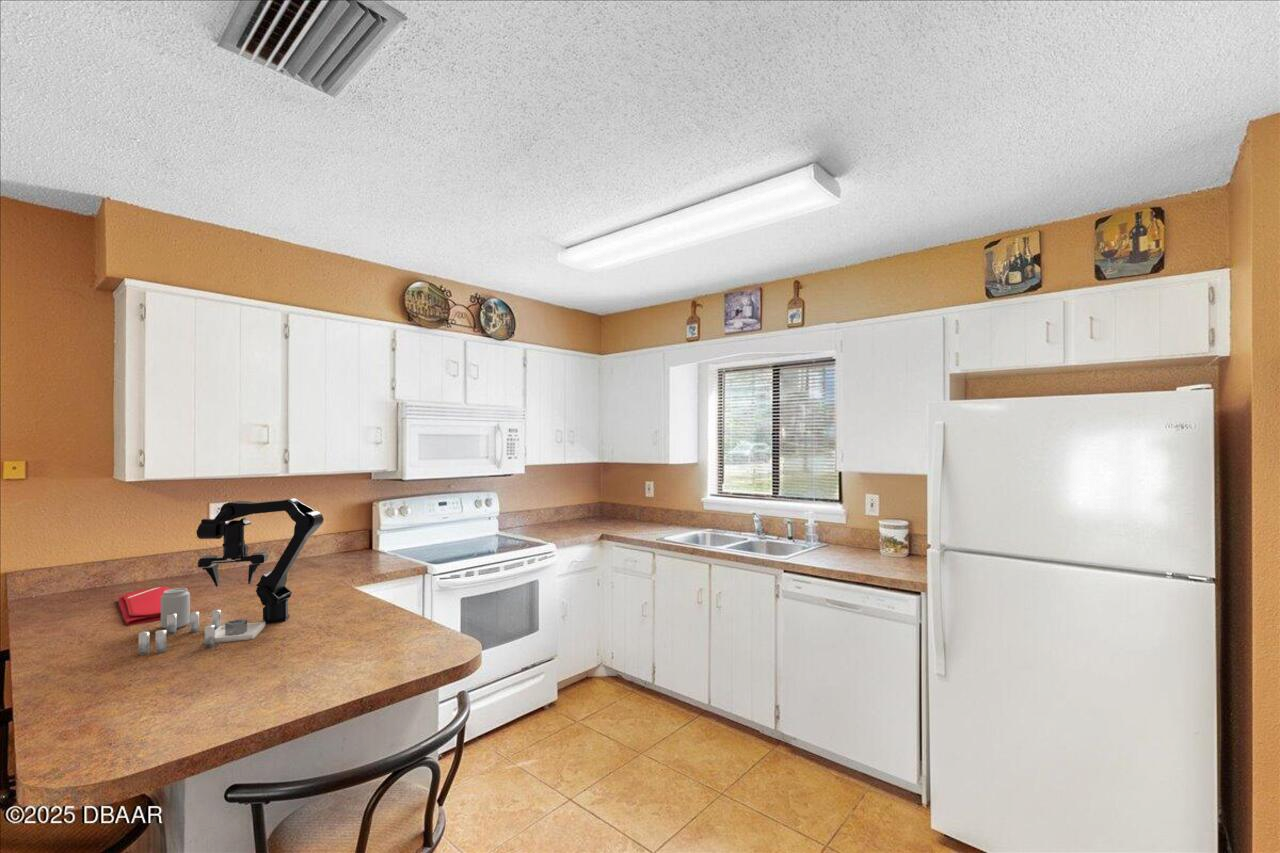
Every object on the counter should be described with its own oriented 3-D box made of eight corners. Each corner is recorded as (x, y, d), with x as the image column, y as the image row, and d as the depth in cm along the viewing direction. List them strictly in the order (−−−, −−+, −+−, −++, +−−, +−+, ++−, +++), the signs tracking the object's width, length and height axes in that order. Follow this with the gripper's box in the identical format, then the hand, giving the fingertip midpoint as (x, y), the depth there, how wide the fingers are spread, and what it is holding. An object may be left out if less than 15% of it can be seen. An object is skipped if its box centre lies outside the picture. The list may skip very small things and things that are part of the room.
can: (173, 630, 186) (173, 593, 186) (154, 629, 187) (154, 592, 187) (195, 623, 193) (195, 587, 193) (177, 622, 195) (177, 586, 195)
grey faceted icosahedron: (248, 629, 185) (248, 618, 185) (242, 635, 179) (242, 623, 179) (230, 630, 183) (230, 619, 183) (223, 636, 178) (223, 625, 178)
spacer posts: (236, 626, 190) (236, 607, 190) (212, 647, 171) (212, 626, 171) (169, 632, 184) (168, 613, 184) (136, 655, 165) (136, 634, 165)
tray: (265, 626, 189) (265, 621, 189) (252, 639, 177) (252, 634, 177) (220, 630, 185) (220, 626, 185) (204, 644, 173) (204, 639, 173)
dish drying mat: (125, 627, 191) (125, 616, 191) (116, 602, 220) (116, 592, 220) (185, 616, 202) (185, 605, 202) (169, 594, 231) (169, 585, 231)
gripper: (271, 533, 206) (271, 577, 206) (208, 536, 199) (208, 581, 199) (263, 538, 196) (263, 584, 195) (197, 542, 189) (196, 590, 189)
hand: (233, 585), depth 195 cm, fingers open, 9 cm apart
